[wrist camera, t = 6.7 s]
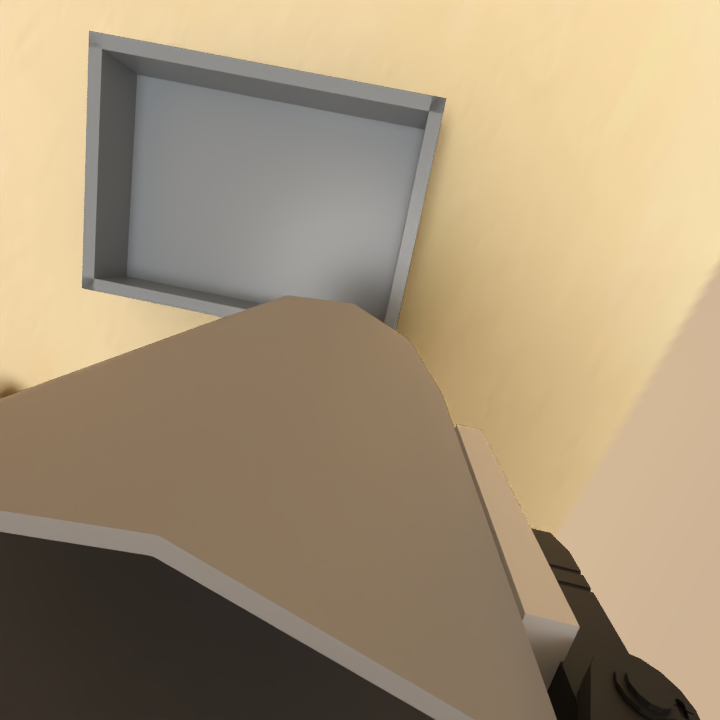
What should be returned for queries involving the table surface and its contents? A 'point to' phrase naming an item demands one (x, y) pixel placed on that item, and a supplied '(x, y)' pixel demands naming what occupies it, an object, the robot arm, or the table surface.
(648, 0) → the table surface
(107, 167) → the slate bin
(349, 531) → the cup
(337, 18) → the table surface
